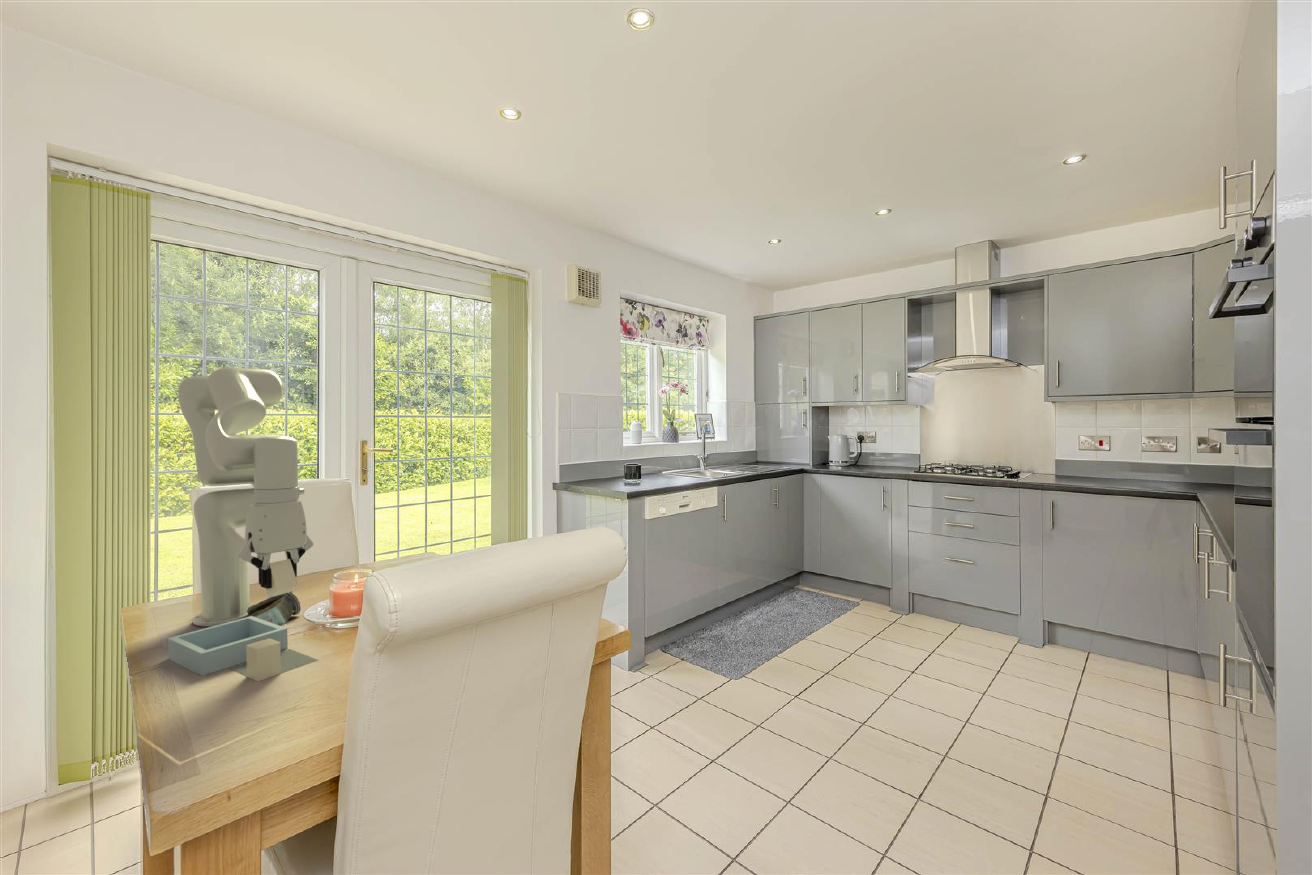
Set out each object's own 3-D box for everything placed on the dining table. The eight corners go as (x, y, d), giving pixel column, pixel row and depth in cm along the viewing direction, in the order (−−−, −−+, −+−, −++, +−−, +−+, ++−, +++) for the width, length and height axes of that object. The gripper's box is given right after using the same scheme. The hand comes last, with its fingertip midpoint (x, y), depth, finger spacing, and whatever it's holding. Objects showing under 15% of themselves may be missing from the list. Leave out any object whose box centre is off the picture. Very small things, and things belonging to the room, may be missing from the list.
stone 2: (268, 597, 115) (260, 570, 116) (289, 592, 119) (281, 565, 120) (277, 590, 113) (268, 563, 115) (298, 585, 117) (289, 558, 118)
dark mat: (229, 669, 111) (229, 668, 111) (289, 650, 120) (289, 648, 120) (257, 683, 105) (257, 681, 105) (318, 661, 114) (318, 659, 114)
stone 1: (246, 676, 107) (246, 645, 107) (270, 668, 110) (269, 638, 110) (257, 681, 105) (256, 649, 105) (280, 673, 108) (280, 642, 108)
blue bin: (168, 659, 115) (167, 638, 115) (252, 635, 128) (251, 615, 128) (202, 677, 107) (201, 653, 107) (287, 649, 121) (287, 628, 120)
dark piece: (229, 630, 132) (263, 596, 131) (243, 611, 139) (276, 579, 138) (266, 651, 136) (300, 619, 135) (278, 632, 142) (311, 601, 141)
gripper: (308, 490, 125) (309, 572, 126) (220, 500, 111) (222, 592, 112) (327, 493, 122) (329, 577, 122) (239, 503, 107) (241, 598, 108)
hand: (278, 583), depth 117 cm, fingers closed on stone 2, 3 cm apart
